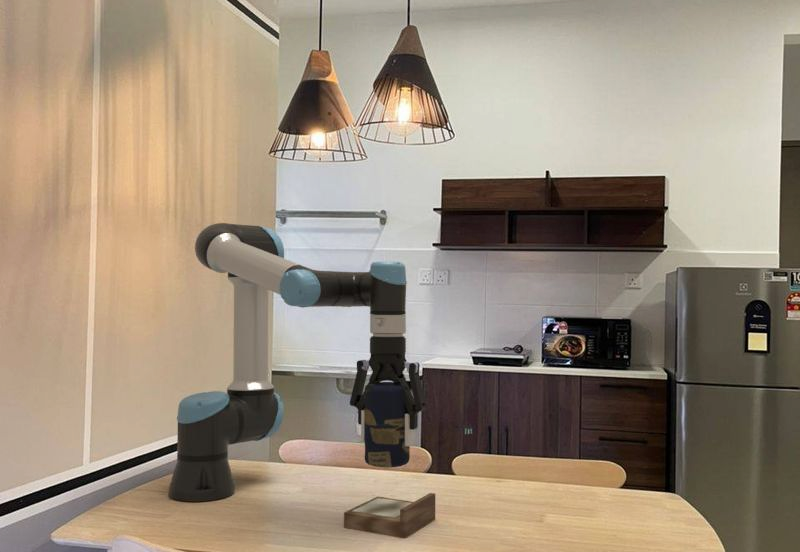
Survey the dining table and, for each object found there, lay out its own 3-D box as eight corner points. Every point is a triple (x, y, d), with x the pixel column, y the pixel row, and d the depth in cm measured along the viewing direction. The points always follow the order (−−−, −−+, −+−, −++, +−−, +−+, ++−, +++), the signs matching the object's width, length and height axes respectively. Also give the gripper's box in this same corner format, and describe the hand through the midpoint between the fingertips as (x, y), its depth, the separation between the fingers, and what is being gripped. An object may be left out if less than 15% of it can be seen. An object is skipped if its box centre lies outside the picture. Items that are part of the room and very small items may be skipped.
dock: (343, 527, 150) (344, 500, 150) (377, 510, 163) (377, 485, 163) (405, 538, 144) (405, 510, 144) (435, 519, 156) (435, 493, 156)
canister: (404, 471, 148) (405, 381, 149) (358, 469, 150) (359, 380, 151) (413, 461, 158) (413, 376, 158) (370, 459, 160) (370, 375, 160)
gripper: (333, 334, 157) (332, 440, 156) (428, 337, 146) (427, 451, 146) (351, 333, 163) (350, 435, 163) (443, 335, 153) (443, 444, 152)
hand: (387, 442), depth 154 cm, fingers closed on canister, 10 cm apart
